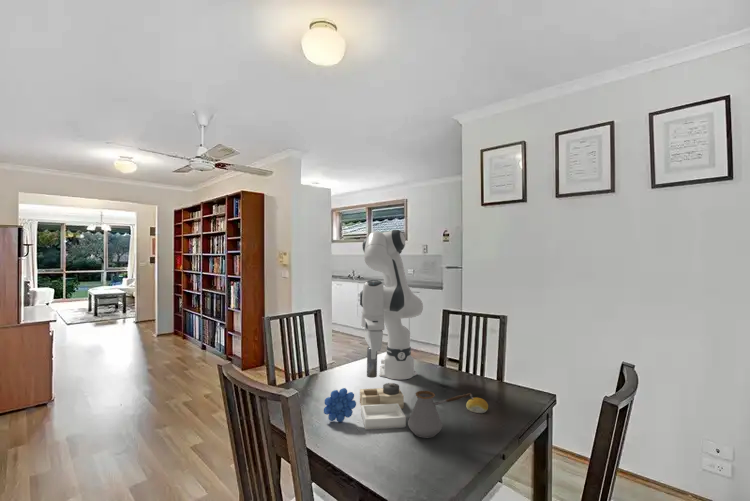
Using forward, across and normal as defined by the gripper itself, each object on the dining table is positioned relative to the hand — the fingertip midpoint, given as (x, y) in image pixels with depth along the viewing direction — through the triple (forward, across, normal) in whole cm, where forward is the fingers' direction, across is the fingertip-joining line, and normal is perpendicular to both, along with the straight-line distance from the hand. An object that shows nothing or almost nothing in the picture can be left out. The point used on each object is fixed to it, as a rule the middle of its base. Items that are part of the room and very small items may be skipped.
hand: (372, 356), depth 147 cm
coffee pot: (+19, +27, +19) cm, 38 cm away
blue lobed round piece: (+19, +12, -13) cm, 26 cm away
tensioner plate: (+19, 0, +4) cm, 20 cm away
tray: (+19, +14, +2) cm, 24 cm away
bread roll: (+19, +9, +41) cm, 46 cm away
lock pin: (+8, 0, 0) cm, 8 cm away
